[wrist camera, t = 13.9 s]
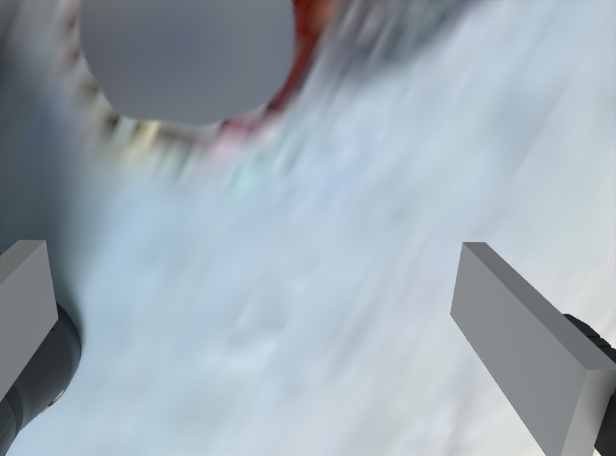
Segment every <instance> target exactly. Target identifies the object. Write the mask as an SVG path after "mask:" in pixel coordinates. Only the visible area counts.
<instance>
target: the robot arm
mask: <svg viewBox="0 0 616 456" xmlns="http://www.w3.org/2000/svg"><path fill="white" fill-rule="evenodd" d="M450 315H451V316H452V318H453V319H454V321H455V322H456V324H457V325H458V327H459V328H460V330H461V331H462V333H463V334H464V336H465V337H466V338H467V340H468V341H469V343H470V344H471V346H472V347H473V349H474V350H475V352H476V353H477V355H478V356H479V358H480V359H481V361H482V362H483V364H484V365H485V366H486V368H487V369H488V371H489V372H490V374H491V375H492V377H493V378H494V380H495V381H496V383H497V384H498V386H499V387H500V389H501V390H502V392H503V393H504V395H505V396H506V397H507V399H508V400H509V402H510V403H511V405H512V406H513V408H514V409H515V411H516V412H517V414H518V415H519V417H520V418H521V420H522V421H523V423H524V424H525V425H526V427H527V428H528V430H529V431H530V433H531V434H532V436H533V437H534V439H535V440H536V442H537V443H538V445H539V446H540V448H541V449H542V451H543V452H544V454H545V455H546V456H592V455H593V452H594V449H595V448H596V450H597V451H598V452H599V453H600V455H601V456H616V349H614V348H611V345H610V344H609V343H608V342H607V341H605V340H604V339H603V338H600V335H599V334H598V333H596V332H595V331H594V330H593V329H592V328H591V327H590V326H589V325H587V324H586V323H584V322H582V321H580V320H579V319H577V318H575V317H573V316H571V315H570V314H562V313H560V312H559V311H558V310H557V309H556V308H555V307H554V306H553V305H552V304H551V303H550V302H549V301H548V300H546V299H545V298H544V297H543V296H542V295H541V294H540V293H539V292H538V291H537V290H536V289H535V288H534V287H533V286H531V285H530V284H529V283H528V282H527V281H526V280H525V279H524V278H523V277H522V276H521V275H520V274H519V273H517V272H516V271H515V270H514V269H513V268H512V267H511V266H510V265H509V264H508V263H507V262H506V261H505V260H504V259H502V258H501V257H500V256H499V255H498V254H497V253H496V252H495V251H494V250H493V249H492V248H491V247H490V246H488V245H487V244H486V243H485V242H463V244H462V250H461V255H460V261H459V267H458V272H457V278H456V284H455V289H454V295H453V301H452V306H451V312H450ZM79 361H80V342H79V337H78V334H77V331H76V329H75V327H74V325H73V323H72V321H71V319H70V318H69V316H68V315H67V314H66V312H65V311H64V310H63V309H62V308H61V307H60V306H59V305H58V304H57V303H56V301H55V295H54V288H53V282H52V276H51V270H50V264H49V258H48V252H47V246H46V240H18V241H17V242H16V243H15V244H13V245H12V246H11V247H10V248H9V249H8V250H7V251H5V252H4V253H3V254H2V255H1V256H0V456H5V455H6V453H7V451H8V449H9V448H10V446H11V444H12V443H13V441H14V439H15V438H16V436H17V434H18V433H19V431H20V430H22V429H23V428H24V427H25V426H26V425H27V424H28V423H29V422H30V421H32V420H33V419H34V418H35V417H36V416H37V415H38V414H40V413H42V412H43V411H45V410H46V409H48V408H49V407H50V406H52V405H53V404H54V403H55V402H56V401H57V400H58V399H59V398H60V397H61V396H62V394H63V393H64V392H65V390H66V389H67V387H68V386H69V384H70V382H71V380H72V378H73V376H74V374H75V373H76V370H77V368H78V365H79Z"/></svg>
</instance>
